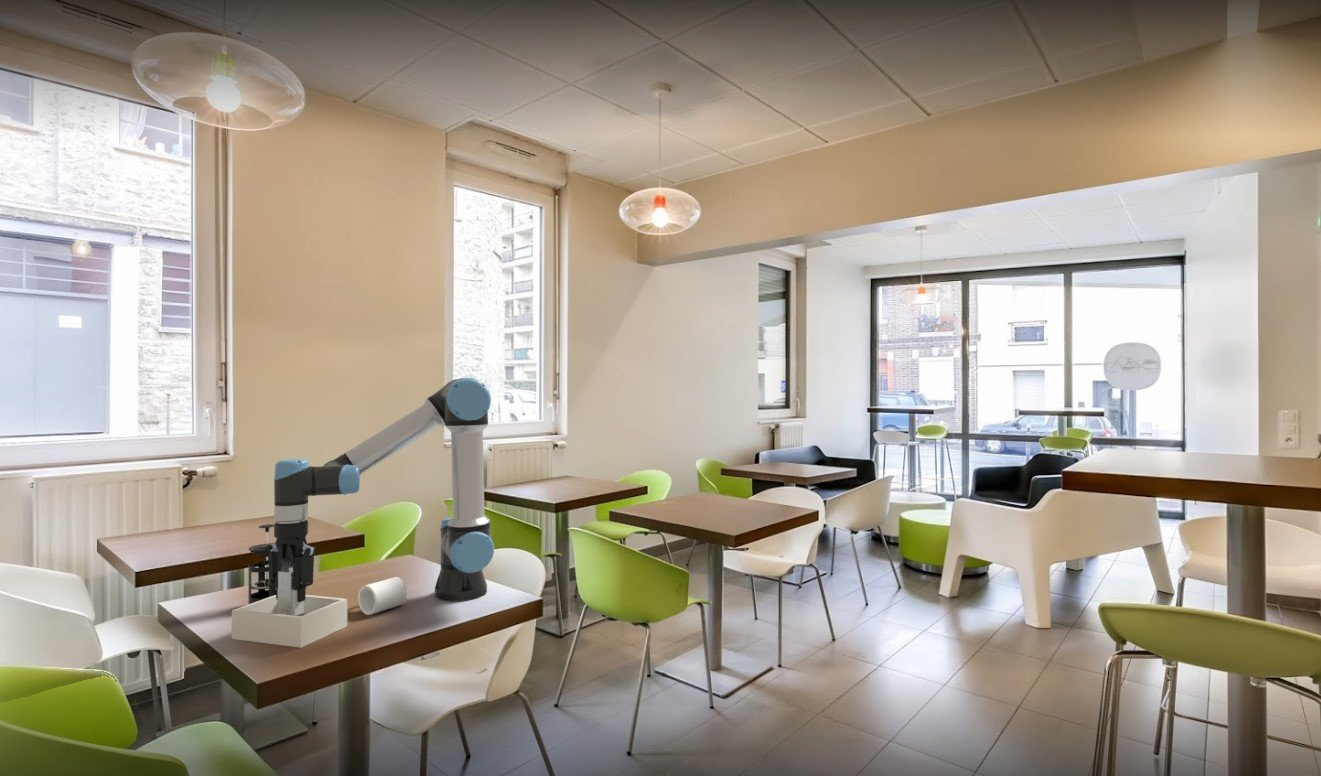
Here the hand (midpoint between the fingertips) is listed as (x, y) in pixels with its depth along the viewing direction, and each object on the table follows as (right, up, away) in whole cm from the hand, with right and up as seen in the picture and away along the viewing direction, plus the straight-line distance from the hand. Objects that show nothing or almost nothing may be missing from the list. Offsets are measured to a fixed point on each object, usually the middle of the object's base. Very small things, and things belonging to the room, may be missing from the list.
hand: (290, 613), depth 165 cm
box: (0, -5, 0) cm, 5 cm away
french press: (-18, -5, +21) cm, 29 cm away
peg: (0, -3, 0) cm, 3 cm away
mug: (+14, -5, +18) cm, 24 cm away
